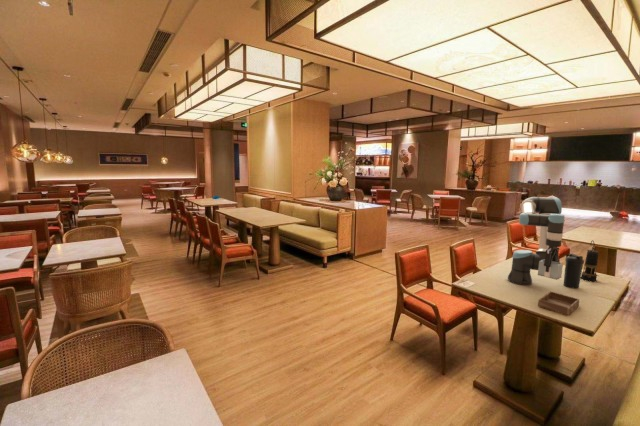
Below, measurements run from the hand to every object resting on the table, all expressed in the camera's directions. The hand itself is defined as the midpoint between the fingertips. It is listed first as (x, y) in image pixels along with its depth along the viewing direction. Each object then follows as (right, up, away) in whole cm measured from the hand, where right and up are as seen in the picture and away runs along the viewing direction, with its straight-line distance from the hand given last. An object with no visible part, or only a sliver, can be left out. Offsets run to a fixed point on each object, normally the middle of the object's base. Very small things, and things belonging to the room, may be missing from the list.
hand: (549, 275), depth 192 cm
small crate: (0, 0, 0) cm, 0 cm away
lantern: (+60, -12, +42) cm, 74 cm away
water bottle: (+37, -14, +29) cm, 49 cm away
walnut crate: (+4, -18, -2) cm, 19 cm away
